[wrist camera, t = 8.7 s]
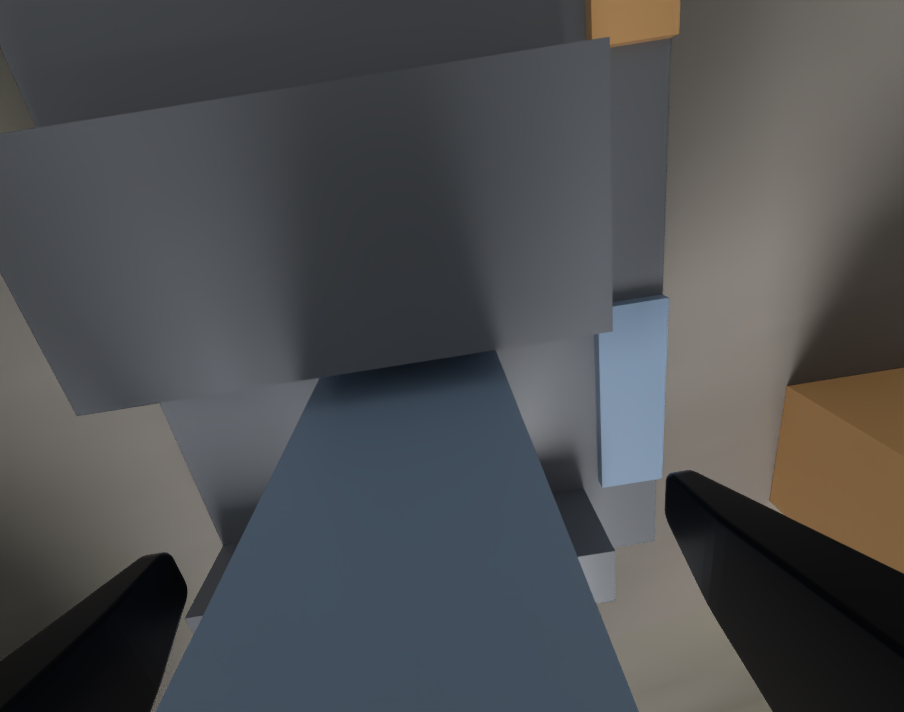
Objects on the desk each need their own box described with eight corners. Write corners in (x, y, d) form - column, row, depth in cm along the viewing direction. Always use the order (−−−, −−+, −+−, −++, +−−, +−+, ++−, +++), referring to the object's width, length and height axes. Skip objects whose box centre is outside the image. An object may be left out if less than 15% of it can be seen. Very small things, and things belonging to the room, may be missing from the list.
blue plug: (508, 480, 12) (635, 952, 5) (360, 503, 12) (267, 1008, 5) (492, 342, 11) (644, 728, 3) (324, 368, 11) (108, 809, 3)
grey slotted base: (642, 521, 14) (695, 608, 11) (258, 581, 14) (218, 682, 11) (663, -575, 6) (842, -1131, 4) (-177, -440, 6) (-619, -888, 4)
